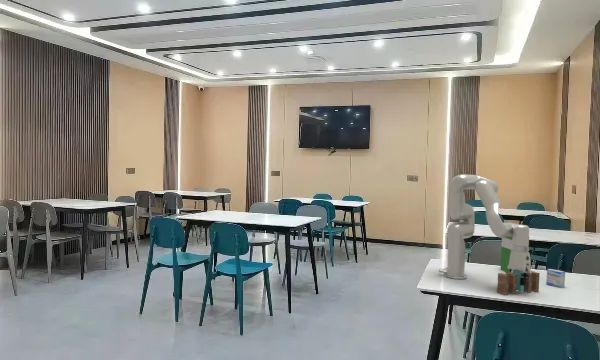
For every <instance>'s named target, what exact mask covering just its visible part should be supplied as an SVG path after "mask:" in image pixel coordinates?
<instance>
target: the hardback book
mask: <svg viewBox="0 0 600 360" xmlns="http://www.w3.org/2000/svg"><path fill="white" fill-rule="evenodd" d="M512 238H513V237H502V238H501V253H500V271H502V272H504V273H505V274H506V273H508V272H509V273H511V272H510V271H509V269H508V268H507V266H508V265H509V259H510V253H511V250H512ZM528 248H529V249H530V244H529V245H528ZM529 251H530V250H529ZM529 251H528V252H529ZM529 253H530V252H529Z"/></svg>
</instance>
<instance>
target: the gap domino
mask: <svg viewBox="0 0 600 360" xmlns="http://www.w3.org/2000/svg"><path fill="white" fill-rule="evenodd" d="M514 274H516V275H517V279H516V292H517V291H518V292H521V293H522V292H523V291H524V285H522V286H521V285H520V278H522V277H521V272H520V271H517V270H514ZM523 274H524V273H523Z"/></svg>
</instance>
